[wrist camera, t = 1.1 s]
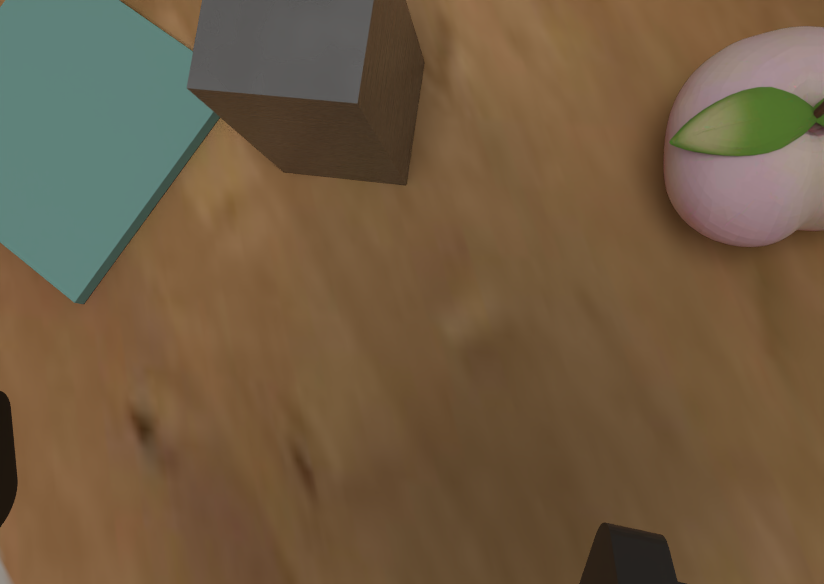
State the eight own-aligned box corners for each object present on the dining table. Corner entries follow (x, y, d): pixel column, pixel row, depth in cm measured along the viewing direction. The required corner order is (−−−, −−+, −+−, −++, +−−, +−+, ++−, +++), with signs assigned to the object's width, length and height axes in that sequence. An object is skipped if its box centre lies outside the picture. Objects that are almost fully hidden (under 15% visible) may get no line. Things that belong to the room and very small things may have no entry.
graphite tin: (303, 52, 38) (216, -78, 27) (424, 62, 37) (384, -70, 26) (283, 172, 37) (186, 88, 26) (406, 185, 36) (357, 103, 25)
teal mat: (53, -44, 40) (43, -52, 40) (241, 87, 38) (235, 81, 37) (-96, 158, 40) (-108, 154, 40) (83, 304, 38) (74, 302, 37)
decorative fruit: (818, 65, 34) (941, -63, 24) (871, 233, 33) (1023, 171, 23) (617, 116, 35) (655, 14, 25) (661, 280, 34) (719, 241, 24)
